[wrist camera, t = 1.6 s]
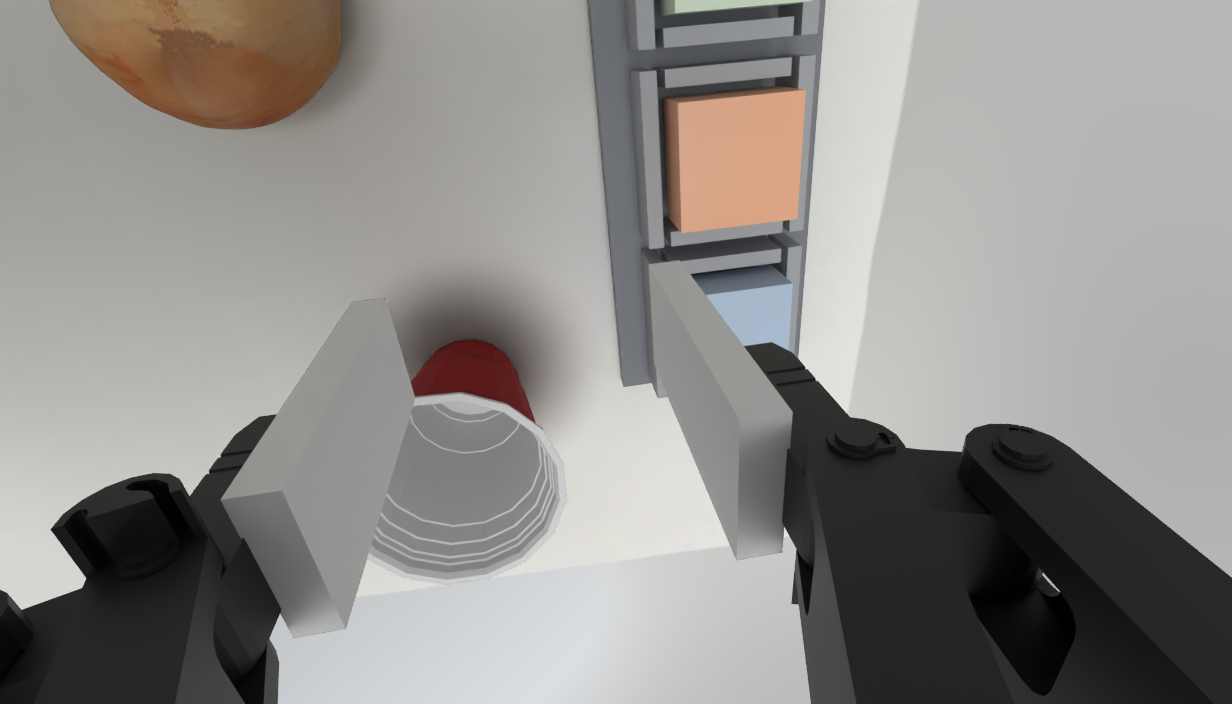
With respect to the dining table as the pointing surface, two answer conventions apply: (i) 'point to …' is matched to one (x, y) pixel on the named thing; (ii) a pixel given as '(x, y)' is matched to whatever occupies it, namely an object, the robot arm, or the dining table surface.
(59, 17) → the onion
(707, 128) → the button terracotta
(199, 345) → the dining table surface
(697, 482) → the dining table surface
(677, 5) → the button sage
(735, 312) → the button slate
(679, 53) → the console
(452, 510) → the plastic cup
